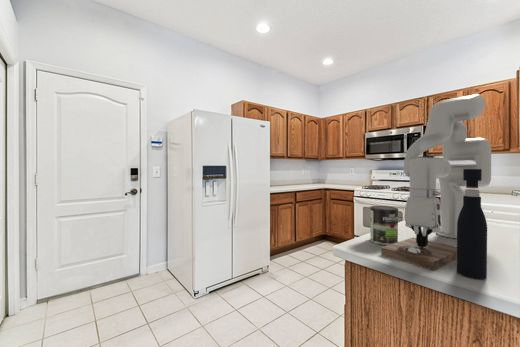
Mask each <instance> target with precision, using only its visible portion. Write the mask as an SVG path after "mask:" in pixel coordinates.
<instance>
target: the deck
mask: <svg viewBox="0 0 520 347" xmlns="http://www.w3.org/2000/svg"><path fill="white" fill-rule="evenodd" d="M411 246H415V247H418V248H419V249H420V251H421V254H418V253H411V252H408V251H407V249H408V248H409V247H411ZM380 252H381V254H380V255H383V256H386V257H389V258H392V259H395V260H398V261H401V262H404V263H406V264H407V263H408V264H412V265H415V266H417V267H421V268H424V269H427V270H430V271H435V270H437V269H439V268H441V267H443V266H446V265H447V264H449V263H451V262H453V261H456V260H457V246H453V245H449V244H444V243H440V242H436V241H432V240H431V241H430V240H428V245H427V246H425V247H419V246H417V243H416V237H410V238H407V239H403V240H401V241H398V242H397V243H394V244H390V245H383V246H382V247H381V251H380Z"/></svg>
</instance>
